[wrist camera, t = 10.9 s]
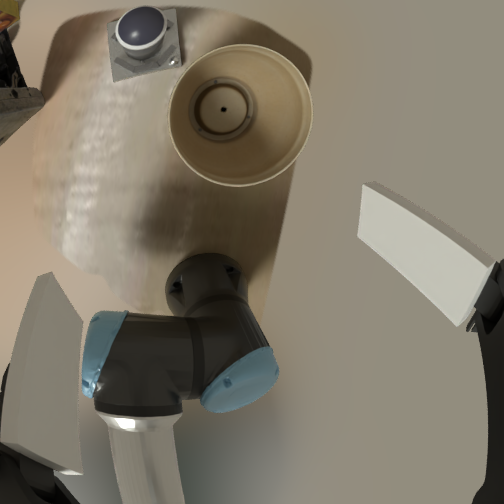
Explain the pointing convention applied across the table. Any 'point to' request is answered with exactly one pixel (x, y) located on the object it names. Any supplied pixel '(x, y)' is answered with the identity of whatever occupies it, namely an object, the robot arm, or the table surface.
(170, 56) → the mount
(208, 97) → the planter bowl
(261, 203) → the table surface
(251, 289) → the table surface
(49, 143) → the table surface
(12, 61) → the vintage camera
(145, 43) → the lens
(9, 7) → the candy box
